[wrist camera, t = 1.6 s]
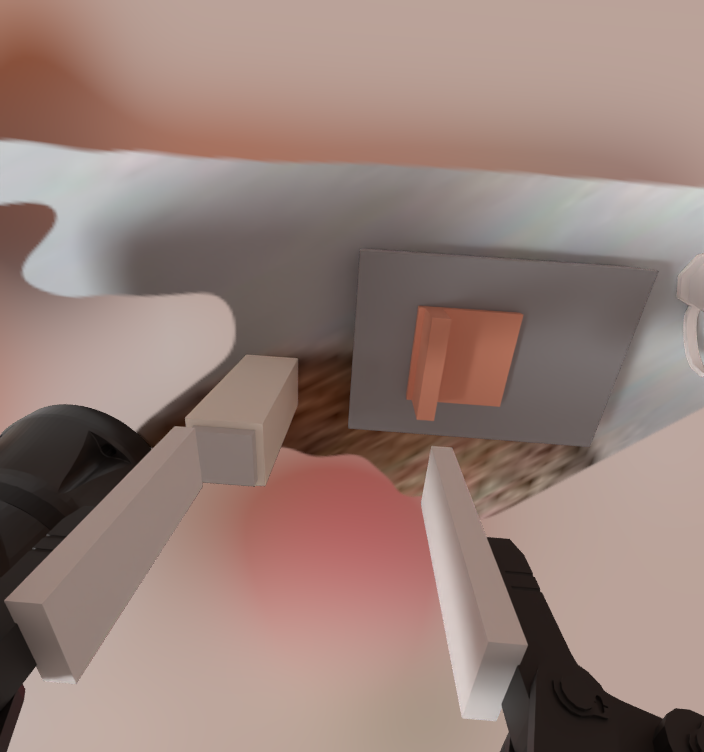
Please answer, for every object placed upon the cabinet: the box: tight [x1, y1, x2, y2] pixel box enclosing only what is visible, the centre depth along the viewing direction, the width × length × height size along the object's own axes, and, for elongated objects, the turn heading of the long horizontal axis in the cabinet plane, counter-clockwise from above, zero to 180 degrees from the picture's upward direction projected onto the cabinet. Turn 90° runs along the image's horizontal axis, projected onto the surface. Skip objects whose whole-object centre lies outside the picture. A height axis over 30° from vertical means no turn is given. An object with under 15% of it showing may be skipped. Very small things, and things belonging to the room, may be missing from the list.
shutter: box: [406, 306, 523, 421], centre depth 25 cm, size 7×7×4 cm
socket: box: [348, 248, 658, 447], centre depth 28 cm, size 20×14×3 cm
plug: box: [185, 354, 298, 487], centre depth 26 cm, size 4×4×12 cm
